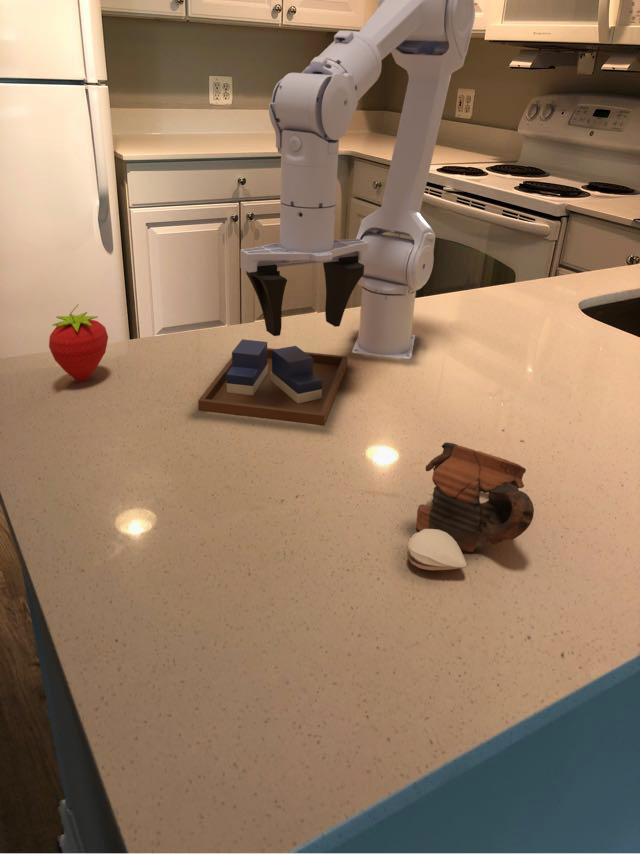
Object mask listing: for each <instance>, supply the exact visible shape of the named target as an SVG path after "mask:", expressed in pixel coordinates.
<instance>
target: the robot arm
mask: <svg viewBox="0 0 640 854" xmlns="http://www.w3.org/2000/svg"><path fill="white" fill-rule="evenodd" d="M475 19H476V9H475V0H378V3H377V9H376V10H375V11H374V12H373V14H372V15H371V16H370V18H368V20H367V21H366V23H365V24H364V25H363V26H362V27H361V29H360V30H359V31H356V30H339V31H338V32H336V34H334V36H333V42H331V43H330V44H329V45H328V46H327V48H325V49H324V50H323V51H322V52H321V53H320V54H319V55H318V56H315V57H314V58H313V59H312V60H310V64H309V65H307V66H306V68H304V69H303V70H302V72H289V73H287V74H286V75H284V77H282V78H281V79H280V80H278V82H276V84H275V87H274V89H273V90H272V95H271V102H270V103H269V104H268V114H269V120H270V123H271V126H272V127H273V130H274V133H275V148H277V153H278V154H280V197H279V198H280V199H279V200H280V202H279V203H280V205H279V206H280V207H279V208H280V209H279V242H273V243H270V244H265V245H260V246H256V247H251V248H242V249H240V250H239V254H240V256H239V257H240V259H239V260H240V261H239V262H240V263H239V264H240V266H239V267H240V269H242V270H243V271H245V274H246V276H247V277H248V279H249V281H250V283H251V285H252V287H253V289H254V292H255V295H256V296H257V299H258V302H259V305H260V308H261V311H262V315H263V319H264V324H265V331H266V332H268V333H269V334H270V335H272V336H273V337H280V336H281V333H282V308H283V302H284V301H283V300H284V294H285V289H286V285H287V283H288V280H287V278H286V277H284V276H283V275H281V272H280V270H278V269H279V268H285V267H294V266H295V267H296V266H304V265H305V266H306V265H315V264H322V265H323V271H324V279H325V309H324V312H325V313H324V314H325V322H326V323H327V324H330V325H331V326H333V327H337V328H338V327H340V326H341V323H342V320H343V317H344V313H345V311H346V307H347V305H348V302H349V300H350V297H351V296H352V293H353V291H354V289H355V288H356V286H357V285H358V286H361V297H360V298H361V299H360V313H359V326H358V335H357V337H356V340H355V343H354V345H353V348H352V350H351V353H353V354H358V355H367V356H368V355H369V356H376V357H377V356H379V357H387V358H396V359H397V358H398V359H405V360H409V359H412V355H413V349H414V343H415V340H416V335H415V334H414V333H413V332H412V331H413V324H414V323H413V321H414V314H415V313H414V312H415V304H416V296H417V295H416V294H417V291H419V290H420V289H422V288H423V287H424V286H425V285H426V284H427V282H428V281H429V279H430V277H431V274H432V271H433V267H434V262H435V261H434V260H435V259H434V258H435V257H434V255H435V254H434V251H435V243H436V233H435V232H434V230H433V228H432V227H431V226H430V225H429V223H428V222H427V221H426V220H425V218H424V217H423V216H422V215H421V209H422V205H423V200H424V195H425V192H426V187H427V184H428V178H429V174H430V170H431V166H432V161H433V156H434V152H435V148H436V144H437V138H438V135H439V131H440V125H441V121H442V118H443V112H444V109H445V103H446V99H447V95H448V91H449V86H450V82H451V78H452V74H453V73H455V72H456V71H458V70H460V69H461V68H463V67H464V64H465V59H466V57H467V54H468V49H469V45H470V43H471V42H470V41H471V37H472V32H473V28H474V24H475ZM390 54H391V55H392V58H393V60H394V63H395V64H396V65H398V66H400V68H402V69H404V70H405V71H406V73H407V76H408V82H407V86H406V89H405V90H406V91H405V96H404V100H403V104H402V109H401V114H400V118H399V123H398V127H397V133H396V137H395V142H394V146H393V151H392V155H391V159H390V164H389V170H388V173H387V174H388V175H387V178H386V184H385V188H384V193H383V197H382V202H381V206H380V207H379V208H378V209H376V210H375V211H373V212H372V213H370V214H368V215H366V216H365V217H364V218H363V219H361V221H360V222H361V223H360V226H359V229H358V232H357V235H356V237H355V238H350V239H346V238H345V239H340V238H339V239H335V227H336V226H335V225H336V224H335V223H336V207H337V205H336V203H337V189H338V188H337V187H338V186H337V185H338V170H339V169H338V168H339V167H338V166H339V149H340V147H339V146H340V140H341V139H342V138H343V137H345V136H346V135H347V134H348V132H349V130H350V127H351V124H352V120H353V116H354V114H355V111H356V110H357V107H358V104H359V101H360V100H361V98H363V96H364V95H365V94H366V93H367V92H368V91H369V90H370V88H372V87H373V85H375V83H376V82H378V80H379V78H380V75H381V73H382V68H383V67H382V66H383V65H382V64H383V63H382V61H383V60H384V59H385V58H386V57H387V56H389V55H390ZM385 233H391V234H397V235H403V236H408V237H411V238H412V239H411V238H406V237H400V236H395V235H390V234H385ZM412 333H413V334H412Z"/></svg>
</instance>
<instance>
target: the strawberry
mask: <svg viewBox="0 0 640 854" xmlns="http://www.w3.org/2000/svg"><path fill="white" fill-rule="evenodd" d="M78 306H79V303H78V304H76V306H75V307H74V308H73V309H72V311H71V312H70V313H69V314H68V315H61V316H59V315H58V316H55V318H56V319H59V320H62V321H59V322H55V323H52V326H54V327H55V328H54V329H53V331H52V332H51V333H50V334H49V339H48V340H49V341H48V348H49V351H50V353H51V355H52V358H53V359H54V361H55V363H57V364H58V366H59V367H60V368H62V370H63V371H64V372H65V373H66V374H68V376H70V377H72V378H73V379H74V380H75V381H76V382H86V381H88V380H89V379H90V378H91V376H92V374H93V373H94V371H95V370H96V369H97V368H98V366H99V365H100V362H101V361H102V359H103V358H104V356H105V354H106V352H107V346H108V341H109V335H108V332H107V327H106V326H105V325H104V324H102V323H101V322H99V321H98V320H95V319H98V316H94V315H87V314H88V311H85V312H82V313H80V314H77V315H75V314H72V313H73V312H74V311H75V310H76V309H77V308H78Z"/></svg>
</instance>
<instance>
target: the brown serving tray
mask: <svg viewBox="0 0 640 854" xmlns="http://www.w3.org/2000/svg"><path fill="white" fill-rule="evenodd" d="M273 349H274V348H273V347H272V348H271V347H267V364H268V373H267V374H266V376H265V377H264V379H263V381H262V382H261V384H260V385H259V387H258V389H257V390H256V392H255V393H254V395H253V396H252V395H244V394H235V393H227V373H228V372H229V370H230V369H231V368H232V357H231V358H230V359H229V360H228V362H226V364H225V365H224V367H223V368H222V369H221V371H220V372H219V373H218V374H217V376H216V377H215V378H214V379H213V380H212V381H211V383H210V384H209V386H208V387H207V388H206V390H205V391H204V392H203V393H202V395H201V396H200V397H199V399H198V400H197V404H198V407H197V408H198V411H201V412H206V413H207V412H208V413H216V414H223V415H224V414H226V415H233V416H240V417H241V416H243V417H250V418H258V419H264V420H265V419H266V420H273V421H281V422H282V421H283V422H290V423H298V424H308V425H315V426H325V425H326V422H327V419H328V418H329V414H330V413H331V412H330V411H331V409H332V405H333V404H334V401H335V399H336V397H337V393H338V391H339V388H340V385H341V383H342V381H343V378H344V375H345V373H346V370H347V368H348V361H349V356H347V355H339V354H338V355H337V354H328V353H318V352H310V351H309V352H308V351H304V352H305V353H306V354H308V355H309V356H311V357H312V358H313V373H314V374H315V375H317V376H318V377H319V378H321V379H322V398H321V399H317V400H312V401H307V402H303V403H296V402H295V401H294V400H293V399H292V398H291V397H289V396H288V395H287V394H286V393H285V392H284V391H282V390H281V389H280V388H279V387H278V386H276V385H275V384H274V383H273V382H272V381H271V372H272V350H273Z"/></svg>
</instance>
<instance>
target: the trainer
mask: <svg viewBox="0 0 640 854" xmlns="http://www.w3.org/2000/svg"><path fill="white" fill-rule="evenodd" d="M272 349H273V350H272V372H271V381H272V382H273V383H274V384H275V385H276V386H278V387H279V388H280V389H281V390H282V391H284V392H285V393H286V394H287V395H288V396H289V397H291V398H292V399H293V400H294V401H295V402H296V403H303V402H307V401H312V400H317V399H321V398H322V379H321V378H319V377H318V376H317V375H315V374H314V373H313V358H312V357H311V356H309V355H308V354H306V353H305V352H306V351H304V350H302V349H301V348H300V347H298V346H297V345H291V346H286V347H285V346H284V347H280V348H279V347H278V348H272Z"/></svg>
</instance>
